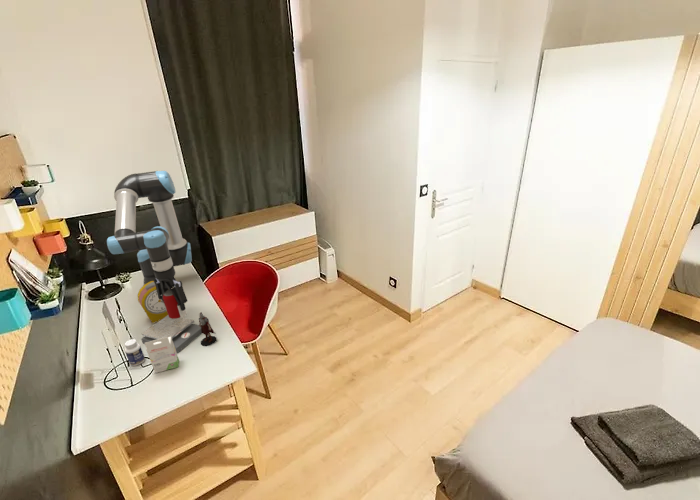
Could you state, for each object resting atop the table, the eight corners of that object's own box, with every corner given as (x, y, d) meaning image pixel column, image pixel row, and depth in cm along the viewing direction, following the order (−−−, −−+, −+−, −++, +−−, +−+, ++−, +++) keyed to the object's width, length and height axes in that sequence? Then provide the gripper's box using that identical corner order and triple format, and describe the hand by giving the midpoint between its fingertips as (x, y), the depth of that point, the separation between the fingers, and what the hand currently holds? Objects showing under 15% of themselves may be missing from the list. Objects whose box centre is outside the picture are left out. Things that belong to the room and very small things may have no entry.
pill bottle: (138, 366, 140) (130, 347, 136) (126, 365, 142) (119, 346, 138) (148, 357, 145) (141, 338, 141) (136, 356, 146) (129, 337, 142)
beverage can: (182, 309, 160) (175, 286, 155) (188, 315, 155) (181, 291, 150) (166, 315, 155) (159, 292, 150) (172, 322, 151) (164, 298, 146)
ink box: (179, 359, 144) (169, 329, 137) (178, 367, 139) (168, 337, 133) (155, 365, 141) (145, 335, 135) (154, 373, 137) (143, 343, 130)
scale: (171, 322, 167) (170, 316, 166) (204, 330, 160) (203, 325, 159) (142, 343, 154) (140, 337, 153) (177, 353, 147) (175, 347, 145)
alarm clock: (148, 325, 166) (137, 292, 158) (144, 318, 171) (132, 285, 164) (181, 312, 174) (171, 280, 167) (176, 305, 180) (166, 274, 172)
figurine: (197, 344, 152) (188, 315, 145) (209, 334, 158) (202, 305, 151) (208, 348, 149) (200, 318, 143) (221, 337, 155) (213, 308, 149)
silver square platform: (170, 317, 165) (169, 314, 164) (194, 323, 160) (193, 320, 159) (142, 337, 153) (141, 333, 152) (168, 344, 147) (166, 340, 147)
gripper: (138, 268, 146) (153, 315, 155) (174, 275, 139) (187, 323, 148) (153, 260, 152) (167, 306, 162) (188, 266, 145) (200, 313, 155)
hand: (177, 314), depth 155 cm, fingers closed on beverage can, 7 cm apart
